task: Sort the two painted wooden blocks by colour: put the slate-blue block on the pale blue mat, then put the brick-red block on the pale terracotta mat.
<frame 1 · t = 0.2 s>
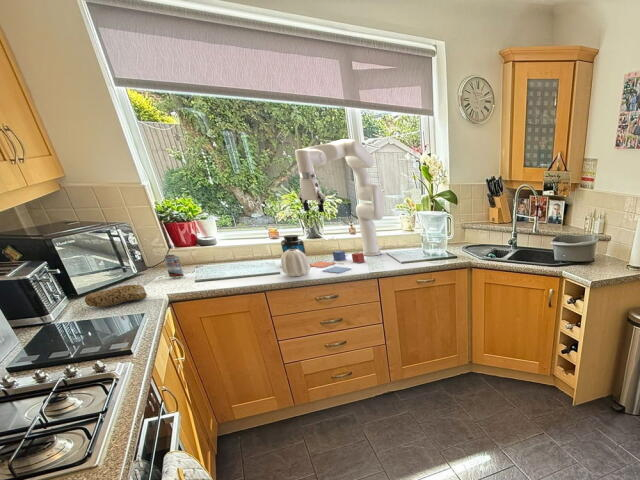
hand: (314, 211, 224), 31 cm above the countertop, tool pointing down, fingers open, 9 cm apart
beverage can: (178, 278, 216), on the countertop
red block: (358, 261, 256), on the countertop
sponge: (120, 303, 178), on the countertop
container: (297, 264, 247), on the countertop
vase: (298, 275, 226), on the countertop
blue block: (339, 259, 260), on the countertop
red mat: (321, 264, 247), on the countertop
blue mat: (337, 270, 237), on the countertop
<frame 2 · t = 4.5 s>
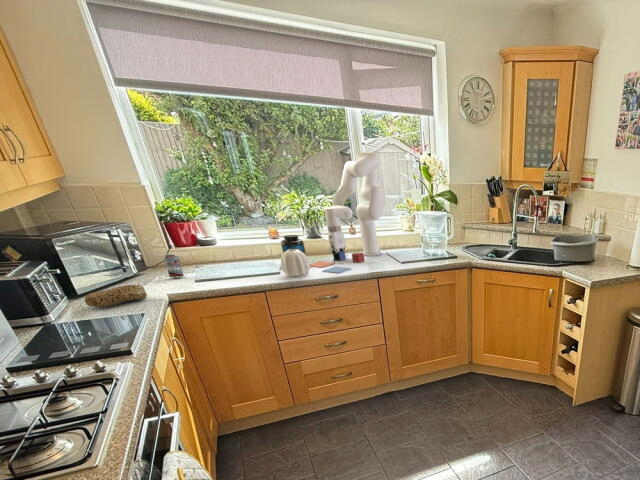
hand: (339, 259, 260), 0 cm above the countertop, tool pointing down, fingers closed on blue block, 5 cm apart
blue block: (339, 259, 260), on the countertop, touching gripper
everything else where it was.
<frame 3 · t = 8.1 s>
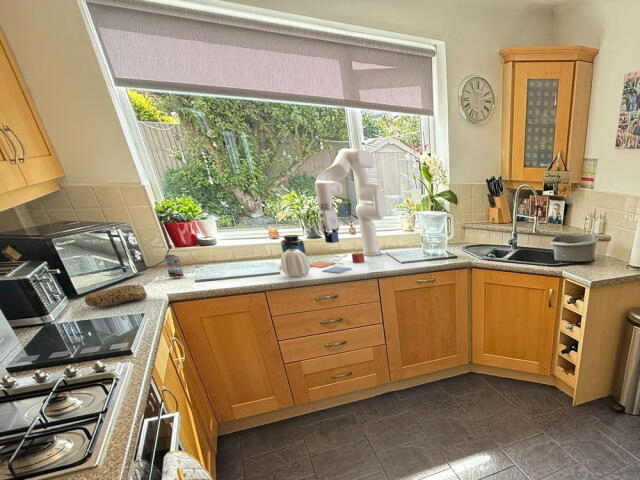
hand: (332, 241, 232), 15 cm above the countertop, tool pointing down, fingers closed on blue block, 5 cm apart
blue block: (332, 242, 233), point 15 cm above the countertop, touching gripper
everything else where it was.
when the fingers open (1 cm above the countertop, at t = 12.0 s): blue block stays where it is, resting on blue mat.
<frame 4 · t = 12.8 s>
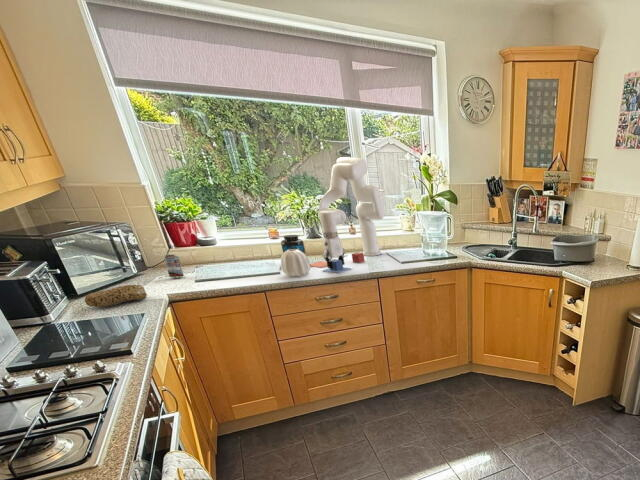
hand: (336, 266, 236), 2 cm above the countertop, tool pointing down, fingers open, 9 cm apart
blue block: (336, 269, 236), resting on blue mat
everything else where it was.
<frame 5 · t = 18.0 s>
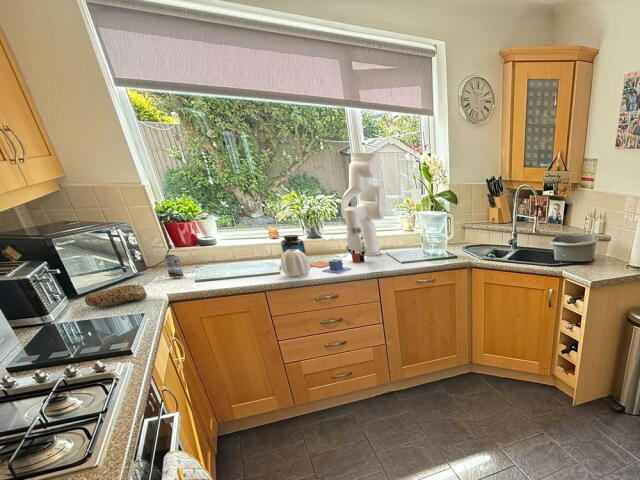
hand: (358, 261, 256), 0 cm above the countertop, tool pointing down, fingers closed on red block, 5 cm apart
red block: (358, 261, 256), on the countertop, touching gripper
everything else where it was.
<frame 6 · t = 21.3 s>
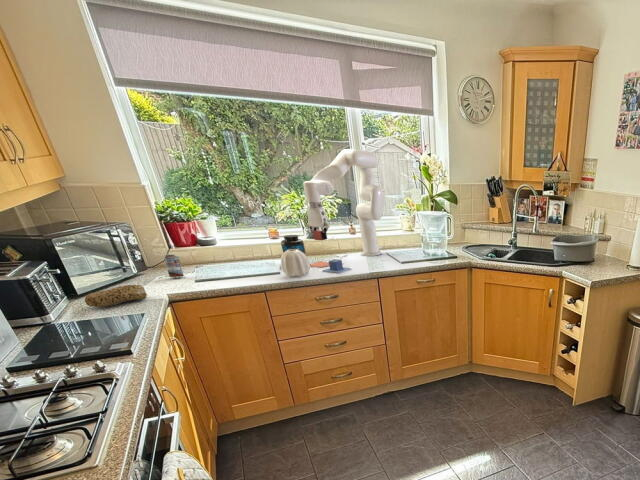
hand: (320, 238, 241), 15 cm above the countertop, tool pointing down, fingers closed on red block, 5 cm apart
red block: (320, 239, 241), point 15 cm above the countertop, touching gripper
everything else where it was.
when the fingers open (1 cm above the countertop, at t = 24.9 s): red block stays where it is, resting on red mat.
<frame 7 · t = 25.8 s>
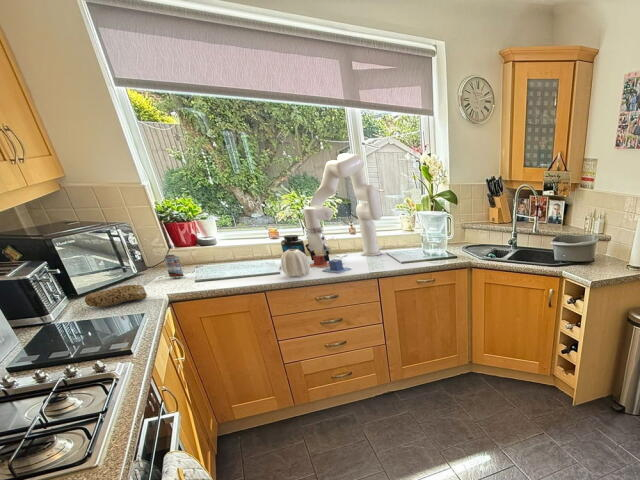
hand: (320, 260, 246), 2 cm above the countertop, tool pointing down, fingers open, 9 cm apart
red block: (320, 264, 246), resting on red mat
everything else where it was.
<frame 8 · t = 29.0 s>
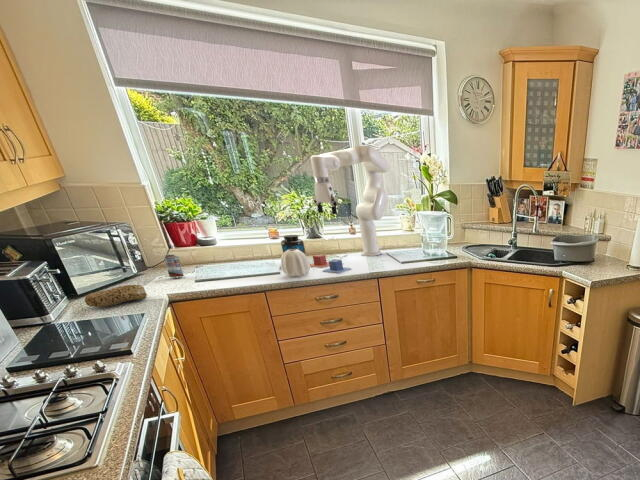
hand: (327, 213, 238), 28 cm above the countertop, tool pointing down, fingers open, 9 cm apart
nothing on the countertop moved.
at the end: blue block inside the target area on the blue mat (0.1 cm from its centre), point 0.5 cm above the blue mat's base; red block inside the target area on the red mat (0.2 cm from its centre), point 0.5 cm above the red mat's base; red block tilted 0° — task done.
